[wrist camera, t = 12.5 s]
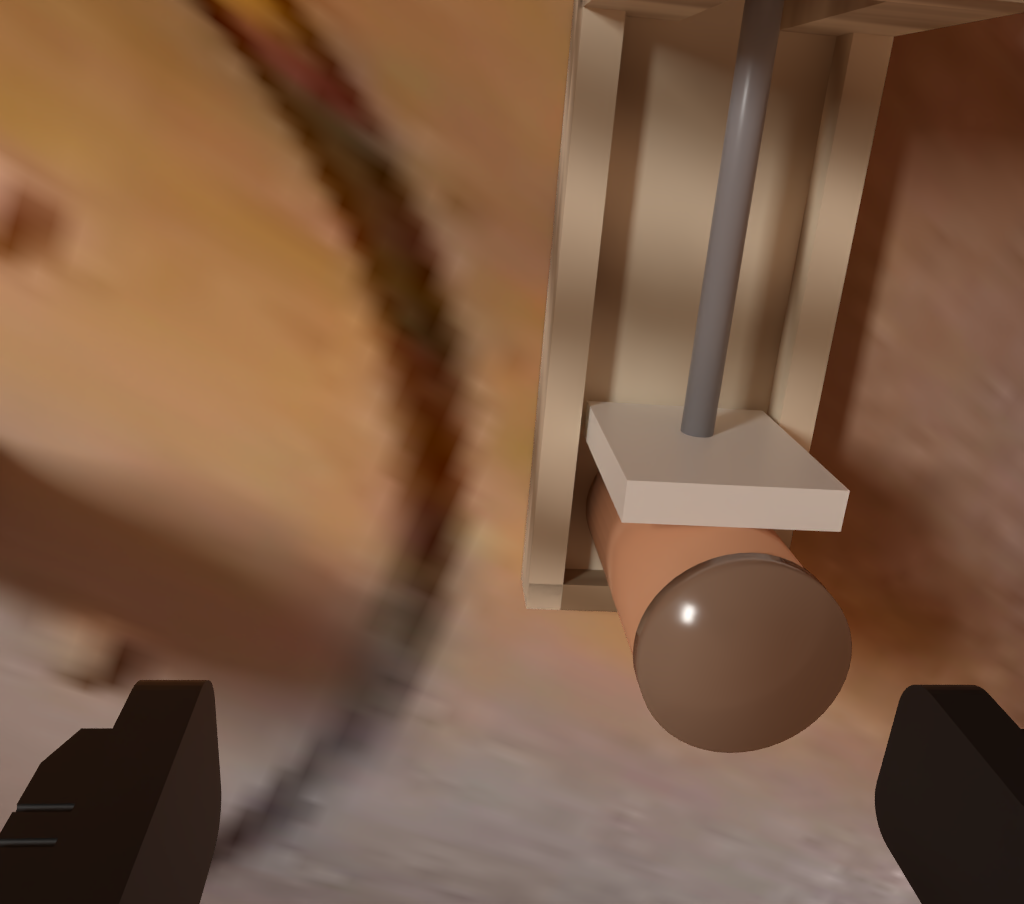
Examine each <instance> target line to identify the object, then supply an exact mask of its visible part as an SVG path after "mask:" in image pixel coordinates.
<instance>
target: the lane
mask: <svg viewBox="0 0 1024 904" xmlns="http://www.w3.org/2000/svg"><path fill="white" fill-rule="evenodd" d="M744 3H745V0H574V8H573V19H572V30H571V41H570V52H569V63H568V74H567V85H566V95H565V106H564V117H563V128H562V139H561V150H560V161H559V172H558V183H557V194H556V205H555V216H554V227H553V238H552V249H551V260H550V271H549V282H548V293H547V303H546V314H545V325H544V336H543V347H542V358H541V369H540V380H539V391H538V402H537V413H536V424H535V435H534V446H533V457H532V468H531V479H530V490H529V500H528V511H527V522H526V533H525V544H524V555H523V566H522V577H521V579H522V586H523V592H524V598H525V604H526V609H549V610H579V611H609V612H617V609H616V606H615V603H614V600H613V597H612V594H611V592H610V589H609V586H608V583H607V580H606V577H605V574H604V571H603V569H602V566H601V563H600V560H599V557H598V554H597V551H596V548H595V546H594V543H593V540H592V537H591V534H590V531H589V528H588V524H587V520H586V501H587V496H588V492H589V489H590V486H591V484H592V482H593V479H594V477H595V476H596V474H597V473H598V471H599V469H598V467H597V465H596V462H595V460H594V458H593V455H592V453H591V451H590V449H589V446H588V444H587V442H586V439H585V437H584V427H585V418H586V409H587V401H597V402H615V403H633V404H652V405H670V406H684V403H685V396H686V390H687V383H688V377H689V370H690V363H691V357H692V350H693V343H694V337H695V330H696V323H697V317H698V310H699V303H700V297H701V290H702V283H703V277H704V270H705V263H706V257H707V250H708V243H709V237H710V230H711V223H712V217H713V210H714V203H715V197H716V190H717V183H718V177H719V170H720V163H721V157H722V150H723V143H724V137H725V130H726V123H727V117H728V110H729V103H730V97H731V90H732V83H733V77H734V70H735V63H736V57H737V50H738V43H739V37H740V30H741V23H742V17H743V10H744ZM1023 12H1024V0H784V6H783V12H782V18H781V24H780V31H779V37H778V43H777V49H776V55H775V61H774V67H773V73H772V79H771V86H770V92H769V98H768V104H767V110H766V116H765V122H764V128H763V134H762V141H761V147H760V153H759V159H758V165H757V171H756V177H755V183H754V189H753V195H752V202H751V208H750V214H749V220H748V226H747V232H746V238H745V244H744V250H743V257H742V263H741V269H740V275H739V281H738V287H737V293H736V299H735V305H734V312H733V318H732V324H731V330H730V336H729V342H728V348H727V354H726V360H725V367H724V373H723V379H722V385H721V391H720V397H719V403H718V408H724V409H742V410H761V411H764V412H765V413H766V414H767V415H768V416H769V417H770V418H771V419H772V420H773V421H774V422H776V423H777V424H778V425H779V426H780V427H781V428H782V429H783V430H784V431H785V432H786V433H787V434H789V435H790V436H791V437H792V438H793V439H794V440H795V441H796V442H797V443H798V444H799V445H801V446H802V447H803V448H804V449H805V450H806V451H807V452H808V453H809V451H810V446H811V441H812V437H813V432H814V427H815V422H816V417H817V412H818V407H819V402H820V397H821V392H822V388H823V383H824V378H825V373H826V368H827V363H828V358H829V353H830V348H831V343H832V339H833V334H834V329H835V324H836V319H837V314H838V309H839V304H840V299H841V294H842V289H843V285H844V280H845V275H846V270H847V265H848V260H849V255H850V250H851V245H852V240H853V236H854V231H855V226H856V221H857V216H858V211H859V206H860V201H861V196H862V191H863V187H864V182H865V177H866V172H867V167H868V162H869V157H870V152H871V147H872V142H873V137H874V133H875V128H876V123H877V118H878V113H879V108H880V103H881V98H882V93H883V88H884V84H885V79H886V74H887V69H888V64H889V59H890V54H891V49H892V44H893V39H894V36H900V35H905V34H911V33H916V32H921V31H927V30H932V29H937V28H943V27H948V26H954V25H959V24H964V23H970V22H975V21H980V20H986V19H991V18H997V17H1002V16H1007V15H1013V14H1018V13H1023ZM773 530H774V531H775V532H776V533H777V535H778V536H779V537H780V538H781V540H782V541H783V542H784V543H785V545H786V546H787V547H788V548H789V549H790V544H791V540H792V535H793V530H785V529H773Z"/></svg>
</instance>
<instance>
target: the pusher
mask: <svg viewBox="0 0 1024 904" xmlns="http://www.w3.org/2000/svg"><path fill="white" fill-rule="evenodd" d="M783 6H784V0H745V3H744V10H743V17H742V23H741V30H740V37H739V43H738V50H737V57H736V63H735V70H734V77H733V83H732V90H731V97H730V103H729V110H728V117H727V123H726V130H725V137H724V143H723V150H722V157H721V163H720V170H719V177H718V183H717V190H716V197H715V203H714V210H713V217H712V223H711V230H710V237H709V243H708V250H707V257H706V263H705V270H704V277H703V283H702V290H701V297H700V303H699V310H698V317H697V323H696V330H695V337H694V343H693V350H692V357H691V363H690V370H689V377H688V383H687V390H686V396H685V403H684V406H670V405H652V404H633V403H615V402H597V401H587V409H586V418H585V427H584V437H585V439H586V442H587V444H588V446H589V449H590V451H591V453H592V455H593V458H594V460H595V462H596V465H597V467H598V469H599V471H600V474H601V476H602V478H603V481H604V483H605V485H606V488H607V490H608V492H609V494H610V497H611V499H612V501H613V504H614V506H615V508H616V510H617V513H618V515H619V517H620V520H621V522H622V523H644V524H668V525H691V526H715V527H738V528H762V529H785V530H808V531H832V532H841V528H842V524H843V519H844V515H845V510H846V506H847V501H848V497H849V492H850V490H848V489H847V488H846V487H845V486H844V485H843V484H842V483H841V482H840V481H839V480H838V479H836V478H835V477H834V476H833V475H832V474H831V473H830V472H829V471H828V470H827V469H826V468H824V467H823V466H822V465H821V464H820V463H819V462H818V461H817V460H816V459H815V458H814V457H813V456H811V455H810V454H809V453H808V452H807V451H806V450H805V449H804V448H803V447H802V446H801V445H799V444H798V443H797V442H796V441H795V440H794V439H793V438H792V437H791V436H790V435H789V434H787V433H786V432H785V431H784V430H783V429H782V428H781V427H780V426H779V425H778V424H777V423H776V422H774V421H773V420H772V419H771V418H770V417H769V416H768V415H767V414H766V413H765V412H764V411H761V410H742V409H724V408H718V403H719V397H720V391H721V385H722V379H723V373H724V367H725V360H726V354H727V348H728V342H729V336H730V330H731V324H732V318H733V312H734V305H735V299H736V293H737V287H738V281H739V275H740V269H741V263H742V257H743V250H744V244H745V238H746V232H747V226H748V220H749V214H750V208H751V202H752V195H753V189H754V183H755V177H756V171H757V165H758V159H759V153H760V147H761V141H762V134H763V128H764V122H765V116H766V110H767V104H768V98H769V92H770V86H771V79H772V73H773V67H774V61H775V55H776V49H777V43H778V37H779V31H780V24H781V18H782V12H783Z"/></svg>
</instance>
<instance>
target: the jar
mask: <svg viewBox="0 0 1024 904" xmlns="http://www.w3.org/2000/svg"><path fill="white" fill-rule="evenodd" d="M586 520H587V524H588V528H589V531H590V534H591V537H592V540H593V543H594V546H595V548H596V551H597V554H598V557H599V560H600V563H601V566H602V569H603V571H604V574H605V577H606V580H607V583H608V586H609V589H610V592H611V594H612V597H613V600H614V603H615V606H616V609H617V612H618V615H619V617H620V620H621V623H622V626H623V629H624V632H625V635H626V638H627V640H628V643H629V646H630V649H631V652H632V655H633V663H634V670H635V674H636V678H637V681H638V684H639V687H640V690H641V693H642V696H643V698H644V701H645V703H646V705H647V708H648V709H649V711H650V712H651V714H652V716H653V717H654V718H655V720H656V721H657V722H658V723H659V724H660V725H661V726H662V727H663V728H664V729H665V730H666V731H667V732H668V733H670V734H671V735H673V736H674V737H676V738H677V739H679V740H681V741H683V742H685V743H687V744H689V745H691V746H694V747H697V748H700V749H704V750H709V751H714V752H726V753H735V752H747V751H754V750H758V749H762V748H766V747H770V746H772V745H775V744H778V743H781V742H783V741H785V740H787V739H789V738H791V737H793V736H795V735H796V734H798V733H799V732H801V731H803V730H804V729H806V728H807V727H808V726H810V725H811V724H812V723H813V722H815V721H816V720H817V719H818V718H819V717H820V716H821V715H822V714H823V713H824V712H825V711H826V710H827V708H828V707H829V706H830V705H831V704H832V702H833V701H834V699H835V698H836V696H837V695H838V693H839V692H840V690H841V688H842V686H843V684H844V681H845V679H846V676H847V673H848V670H849V667H850V661H851V652H852V642H851V634H850V629H849V626H848V623H847V620H846V618H845V616H844V614H843V611H842V609H841V608H840V607H839V605H838V604H837V602H836V601H835V599H834V598H833V597H832V596H831V595H830V593H829V592H828V591H827V590H826V588H825V587H824V586H823V585H822V583H821V582H820V581H819V580H818V579H817V578H816V577H815V576H814V575H813V574H811V573H810V572H809V571H807V570H806V569H805V568H804V567H803V566H802V565H801V564H800V562H799V561H798V560H797V559H796V557H795V556H794V555H793V554H792V552H791V551H790V550H789V548H788V547H787V546H786V545H785V543H784V542H783V541H782V540H781V538H780V537H779V536H778V535H777V533H776V532H775V531H774V530H773V529H762V528H738V527H715V526H691V525H668V524H644V523H622V522H621V520H620V517H619V515H618V513H617V510H616V508H615V506H614V504H613V501H612V499H611V497H610V494H609V492H608V490H607V488H606V485H605V483H604V481H603V478H602V476H601V474H600V471H598V473H597V474H596V476H595V477H594V479H593V482H592V484H591V486H590V489H589V492H588V496H587V501H586Z"/></svg>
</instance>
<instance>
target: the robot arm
mask: <svg viewBox="0 0 1024 904" xmlns="http://www.w3.org/2000/svg"><path fill="white" fill-rule="evenodd" d="M875 810H876V816H877V821H878V825H879V828H880V832H881V834H882V837H883V839H884V841H885V843H886V845H887V847H888V848H889V850H890V852H891V853H892V855H893V857H894V858H895V860H896V862H897V863H898V865H899V867H900V868H901V870H902V872H903V873H904V875H905V877H906V878H907V880H908V882H909V883H910V885H911V887H912V888H913V890H914V892H915V893H916V895H917V897H918V898H919V900H920V902H921V903H922V904H1024V729H1020V728H1019V727H1018V726H1017V724H1016V723H1015V722H1014V721H1013V720H1012V719H1011V718H1010V717H1009V716H1008V715H1007V714H1006V712H1005V711H1004V710H1003V709H1002V708H1001V707H1000V706H999V705H998V704H997V703H996V702H995V700H994V699H993V698H992V697H991V696H990V695H989V694H988V693H987V692H986V691H985V690H984V689H982V688H980V687H978V686H975V685H911V686H909V687H908V688H906V689H905V691H904V692H903V694H902V695H901V698H900V700H899V704H898V707H897V711H896V715H895V718H894V722H893V726H892V729H891V733H890V736H889V740H888V744H887V747H886V751H885V755H884V758H883V762H882V766H881V769H880V773H879V777H878V780H877V784H876V789H875ZM220 812H221V780H220V766H219V752H218V738H217V724H216V710H215V697H214V690H213V686H212V683H211V682H210V681H209V680H140V681H138V682H137V683H136V684H135V685H134V687H133V689H132V691H131V693H130V695H129V697H128V699H127V701H126V703H125V705H124V707H123V709H122V711H121V713H120V715H119V717H118V719H117V721H116V723H115V725H114V727H113V729H80V730H79V731H78V732H77V733H76V734H74V735H73V736H72V737H71V738H70V739H69V740H67V741H66V742H65V743H64V744H63V745H61V746H60V747H59V748H58V749H57V750H56V751H54V752H53V753H52V754H51V755H50V756H49V757H47V758H46V759H45V760H44V761H43V762H41V764H40V765H39V767H38V769H37V771H36V772H35V774H34V776H33V777H32V779H31V781H30V783H29V784H28V786H27V788H26V790H25V791H24V793H23V795H22V796H21V798H20V800H19V802H18V803H17V810H16V812H12V814H11V815H10V817H9V819H8V821H7V822H6V824H5V826H4V828H3V829H2V831H1V833H0V904H199V903H200V900H201V896H202V893H203V889H204V886H205V882H206V879H207V875H208V872H209V868H210V865H211V861H212V858H213V854H214V850H215V846H216V842H217V836H218V830H219V823H220Z"/></svg>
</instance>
